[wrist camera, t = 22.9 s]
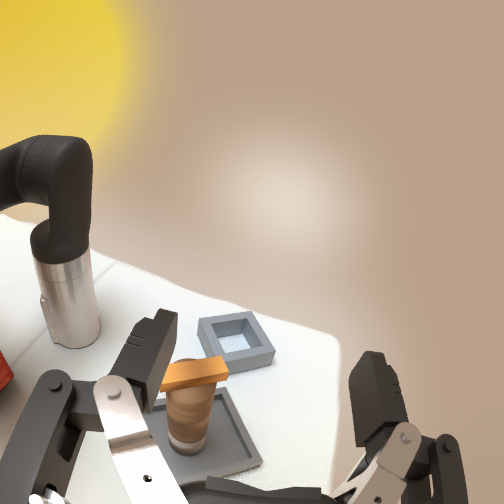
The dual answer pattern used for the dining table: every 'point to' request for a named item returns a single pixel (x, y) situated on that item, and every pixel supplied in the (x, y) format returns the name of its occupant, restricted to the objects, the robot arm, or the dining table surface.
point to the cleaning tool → (191, 401)
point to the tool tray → (207, 443)
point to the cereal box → (4, 373)
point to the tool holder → (232, 325)
